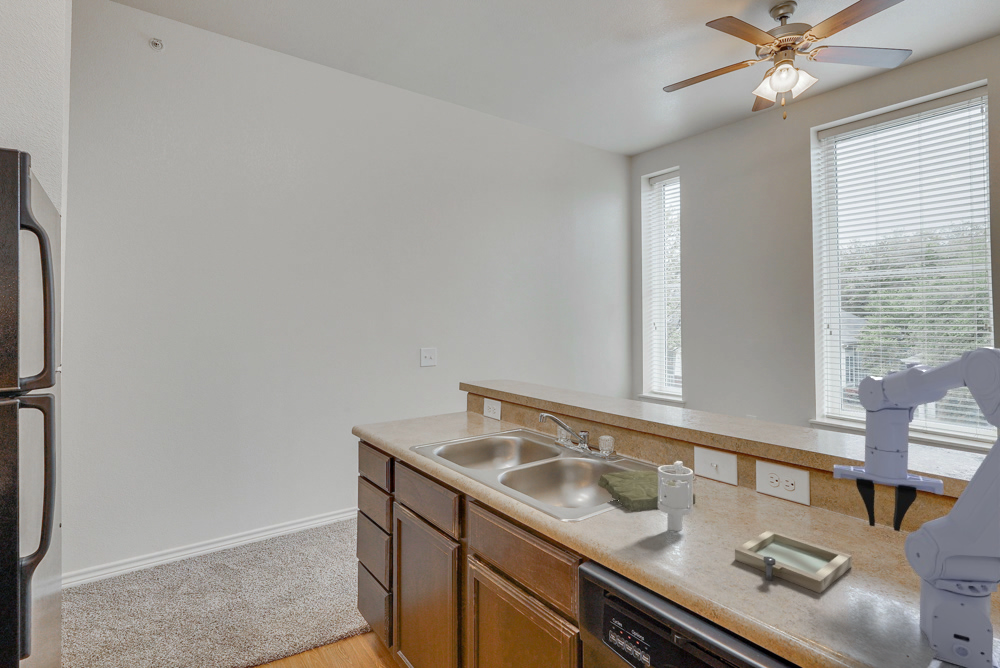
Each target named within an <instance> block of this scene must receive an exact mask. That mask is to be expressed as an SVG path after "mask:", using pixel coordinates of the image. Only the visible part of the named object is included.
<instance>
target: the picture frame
mask: <svg viewBox="0 0 1000 668" xmlns="http://www.w3.org/2000/svg"><path fill="white" fill-rule="evenodd" d="M764 557H772V558H774V559H775V560H776V564H775V565H773V576H775V577H778V578H780V579H782V580H785V581H787V582H790V583H792V584H795V585H798V586H800V587H803V588H806V589H808V590H810V591H813V592H816V593H818V594H821V593H822V592H824V591H825V590H826V589H827V588H828V587H829V586H831V585H832V584H833V583H834V582H835V581H836V580H838V579H839V578H840V577H842V575H844V573H846V572H847V571H848V570H849V569H851V568H852V562H853V560H852V558H853V556H852V555H851V554H848V553H844V552H841V551H839V550H836V549H833V548H830V547H826V546H823V545H820V544H817V543H814V542H812V541H811V542H810V541H809V540H808V541H807V540H804V539H802V538H800V537H796V536H793V535H789V534H787V533H784V532H780V531H777V530H774V529H771V528H769V529H768V530H765V532H762V533H760V534H759V535H757V536H755V537H753V538H752V539H750V540H749V541H747V542H745V543H743V544H741V545H739V546H738V547H736V548H734V560H735V561H738V562H740V563H741V564H744V565H747V566H750V567H752V568H755V569H757V570H760V571H762V572H764V573H766V563H764V561H763V560H764Z"/></svg>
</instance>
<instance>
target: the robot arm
mask: <svg viewBox="0 0 1000 668" xmlns="http://www.w3.org/2000/svg"><path fill="white" fill-rule="evenodd" d="M963 387H967V388H968V390H969V392H970V395H971V396H972V397H973V399H974V401H975V403H976V405H977V406H978V408H979V410H980V412H981V413H982V415H983V416H984V418H985V420H986V421H987V423H988V424H989V425H992V426H994V427H996V428H997V429H998V430H999V429H1000V348H996V347H990V346H984V347H983V346H982V347H978V348H976V349H974V350H965V351H963V352H962V355H961V356H959V357H956V358H954V359H952V360H949V361H947V362H945V363H942V364H940V365H937V366H935V367H933V366H930V365H926V364H923V363H922V362H910V363H908V364H906V369H903V370H899V371H897V370H895V371H894V370H892V371H889V372H888V373H887V375H885V376H879V377H876V376H874V375H867V376H866V377H864V378H863V379H862V380H861V381H860V383H859V386H858V391H857V394H858V400H859V403H860V405H861V406H862V408H864V410H865V436H864V437H865V440H864V441H865V443H864V444H865V445H864V449H865V450H864V466H854V465H853V466H852V465H842V464H841V465H840V464H833V476H832V477H833V479H839V480H840V479H847V480H852V481H855V485H856V488H857V490H858V492H859V494H860V496H861V498H862V500H863V503H864V505H865V509H866V512H867V515H868V516H867V517H868V524H869V526H870V527H875V526H876V520H875V519H876V517H875V495H876V494H875V493H876V491H875V484H878V485H879V484H880V485H885V486H891V487H894V511H893V512H894V513H893V519H892V520H893V521H892V523H893V525H892V526H893V530H894V531H896V532H900V531H901V526H902V523H903V519H904V518H905V515H906V513H907V512H908V510H909V508H910V507H911V506H912V504H914V502H915V501H916V499H917V496H918V494H917V491H925V492H930V493H934V494H936V495H941V496H943V495H944V487H945V486H944V482H943V480H942V479H940V478H933V477H932V478H931V477H928V476H923V475H919V474H918V475H917V474H913V473H910V472H909V473H908V468H909V466H908V465H909V431H910V430H909V428H910V427H909V426H910V424H911V423H912V422H913V420H914V415H915V414H914V413H915V411H916V409H917V408H918V406H921V405H922V406H923V405H926V404H929V403H934V402H938V401H940V400H942V399H944V398H945V396H946V395H947V394H948V391H949V390H954V389H958V388H963ZM903 546H904V553H905V558H906V560H907V562H908V565H909V566H910V567H911V569H912V570H913V571H914V573H915V574H917V576H918V577H919V578H920V583H919V584H920V589H919V590H920V594H919V596H920V597H919V627H920V630H921V631H922V632H923V633H924V634H925V636H926V637H927V639H928V643H929V646H930V648H931V650H934V651H936V653H935V654H934V656H933V659H937V660H940V661H943V662H947V663H951V664H952V665H953V664H954V665H957V666H960V667H964V668H1000V664H999V662H998V660H997V657H996V656H995V653H994V627H993V623H992V621H991V605H992V604H991V603H992V593H995V592H996V593H998V585H1000V435H999V436H998V437H997V439H996V440H995V442H994V443H993V445H992V447H991V448H990V450H989V451H988V453H987V455H986V456H985V457H984V458H983V459H982V462H981V464H980V465H979V467H978V468H977V469H976V471H975V473H974V474H973V476H972V477H971V479H970V480H969V481H968V483H967V485H966V486H965V487H964V490H963V491H962V493H960V495H959V497H958V499H957V500H956V501H955V504H954V505H953V507H952V508H951V509H950V511H949V513H948V514H946V515H944V516H941V517H939V518H936V519H932V520H929V521H927V522H924V523H922V524H921V526H920V527H919V529H917V530H914V531H911V532H909V534H908V535H907V536H906V539H905V541H904V545H903Z"/></svg>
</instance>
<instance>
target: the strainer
mask: <svg viewBox="0 0 1000 668" xmlns="http://www.w3.org/2000/svg"><path fill="white" fill-rule="evenodd" d="M683 463H684V462H683V461H680V460H676V461H674V462H673V464H666V465H665V464H664V465H660V466H658V467H657V474H658V508H657V509H658V510H660V511H661V512H663V513H665V514H667V525H666V527H667V530H666V531H675V532H680V531H683V527H684V526H683V525H684V524H683V518H684V517H683V516H687V515H691V514H692V513H693V512H694V504H693V493H694V471H693V469H691V468H689V467H686V466H684V464H683ZM668 471H673V472H675V473H669V472H668ZM668 481H672V482H674V483H675V486H670V485H668Z"/></svg>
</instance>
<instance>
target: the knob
mask: <svg viewBox="0 0 1000 668" xmlns="http://www.w3.org/2000/svg"><path fill="white" fill-rule="evenodd" d="M763 561H764V563H766V572H765V580H766V581H768V582H773V578H774V577H773V576H774V575H773V565H775V564H776V560H775V559H774V558H772V557H764V560H763Z"/></svg>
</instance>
